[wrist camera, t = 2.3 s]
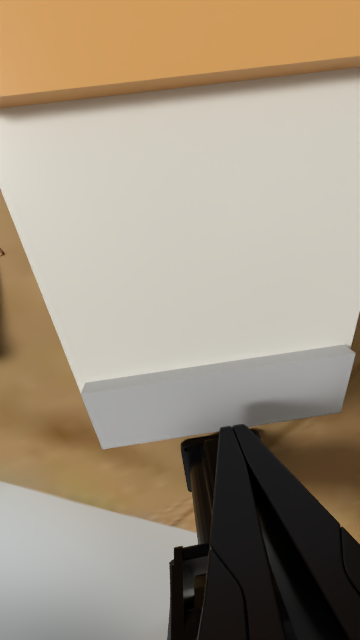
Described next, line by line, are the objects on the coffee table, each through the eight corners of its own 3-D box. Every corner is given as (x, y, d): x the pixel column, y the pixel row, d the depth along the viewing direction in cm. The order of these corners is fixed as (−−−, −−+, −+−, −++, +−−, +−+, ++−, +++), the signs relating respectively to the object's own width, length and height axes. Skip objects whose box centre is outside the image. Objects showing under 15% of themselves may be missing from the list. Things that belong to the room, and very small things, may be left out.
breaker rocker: (323, 385, 12) (347, 411, 10) (103, 418, 11) (95, 450, 10) (420, -102, 5) (517, -213, 4) (-69, -56, 5) (-159, -158, 4)
